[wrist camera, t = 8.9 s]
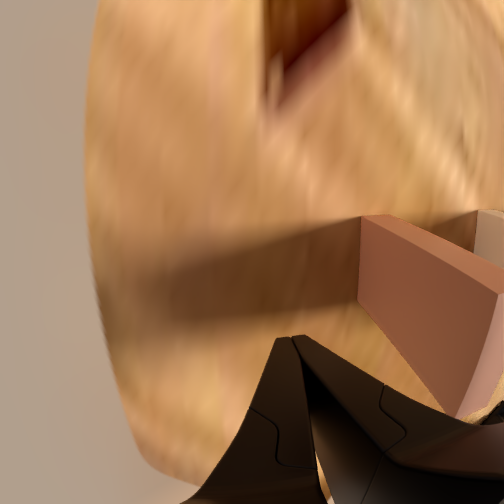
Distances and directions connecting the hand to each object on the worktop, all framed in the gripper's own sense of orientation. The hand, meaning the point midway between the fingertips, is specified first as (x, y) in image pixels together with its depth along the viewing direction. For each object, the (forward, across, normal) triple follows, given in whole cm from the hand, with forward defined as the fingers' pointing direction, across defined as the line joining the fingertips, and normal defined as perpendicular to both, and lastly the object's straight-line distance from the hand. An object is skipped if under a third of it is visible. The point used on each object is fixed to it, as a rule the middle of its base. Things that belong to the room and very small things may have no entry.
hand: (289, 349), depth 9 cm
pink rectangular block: (+6, -6, 0) cm, 8 cm away
